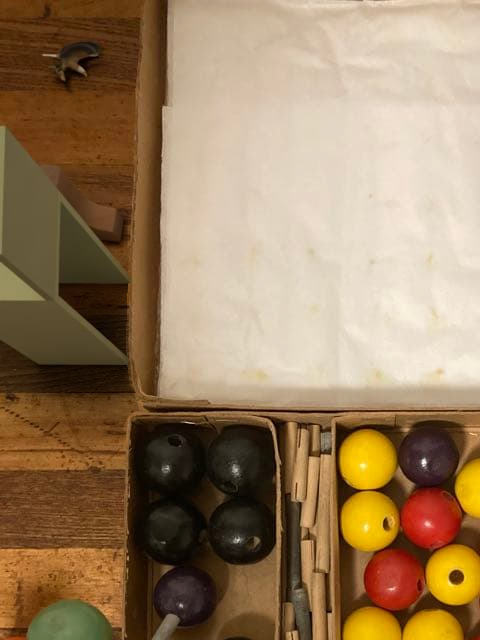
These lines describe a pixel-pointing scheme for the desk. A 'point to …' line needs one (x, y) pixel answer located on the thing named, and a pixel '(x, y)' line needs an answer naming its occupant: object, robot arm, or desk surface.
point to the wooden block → (86, 206)
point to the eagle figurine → (73, 57)
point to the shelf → (47, 267)
